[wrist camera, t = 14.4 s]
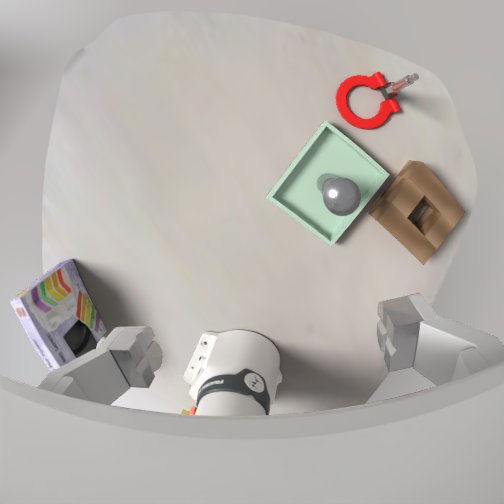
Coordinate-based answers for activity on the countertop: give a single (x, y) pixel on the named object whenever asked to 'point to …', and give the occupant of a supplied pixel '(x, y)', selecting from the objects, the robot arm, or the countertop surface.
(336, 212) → the pin
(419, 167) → the block
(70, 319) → the cake pan box
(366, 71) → the countertop surface
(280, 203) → the tray
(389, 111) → the tow hook
